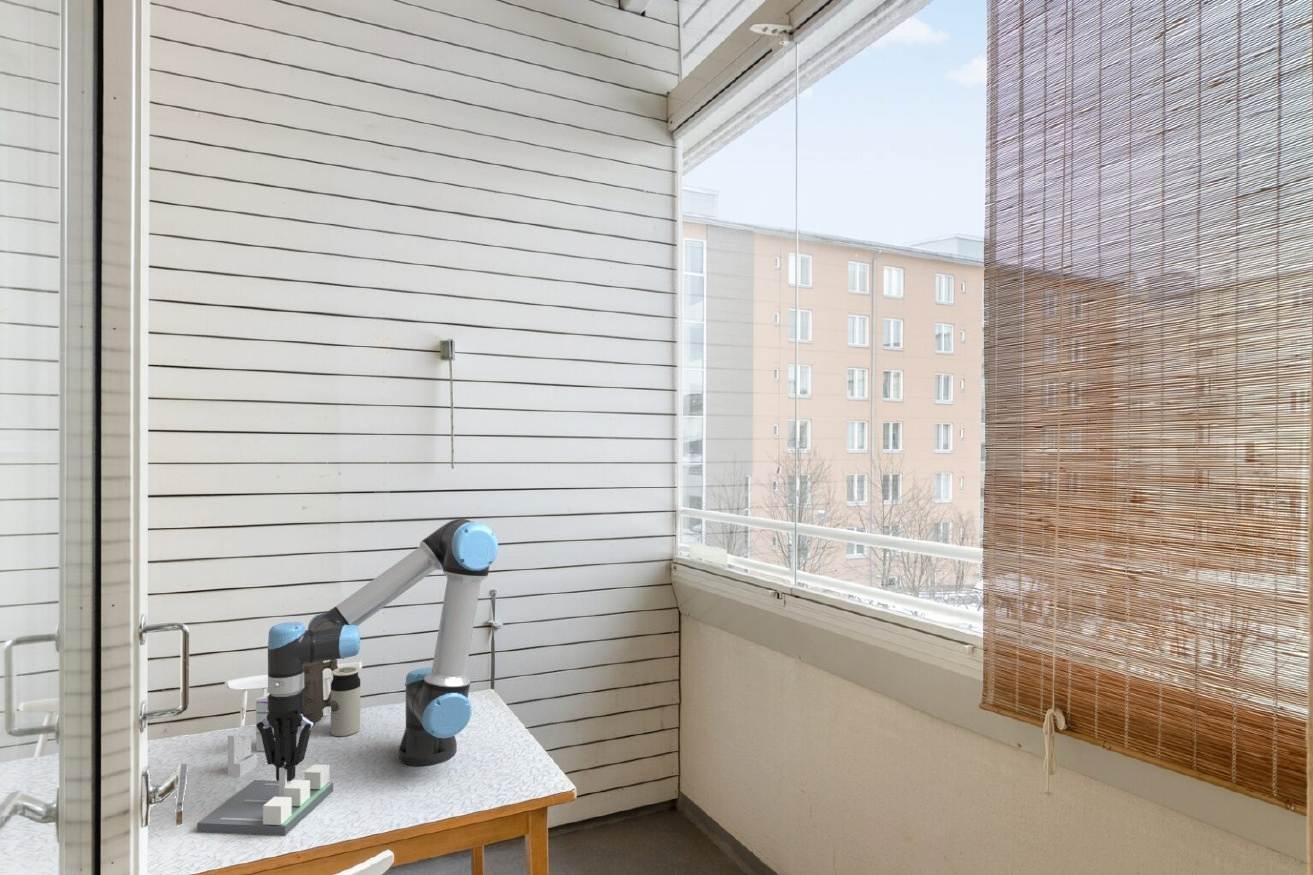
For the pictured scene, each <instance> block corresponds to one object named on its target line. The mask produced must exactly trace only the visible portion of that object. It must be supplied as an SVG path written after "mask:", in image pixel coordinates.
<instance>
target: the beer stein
mask: <svg viewBox="0 0 1313 875" xmlns="http://www.w3.org/2000/svg"><path fill="white" fill-rule="evenodd" d="M338 668H339V666H338V659H334V660H328V661H326V662H325V661H319V662H312V663H305V664H304V688H303V690H304V707H303V711H304V713H305V718H306V719H308V720H309V721H312V720H313V721H315V724H316V723H317V722H320V721H322V719H323V718H324V716H325V714H324V709H325V708H328V707H330V708H331V690H330V692H329V694H328V698H327V699H324V673H323V672H324V670H326V669H329V670H331V672H332V671H333V670H335V669H338ZM322 717H323V718H322ZM321 718H322V719H321ZM301 726H302V724H300V726H299V727H301Z"/></svg>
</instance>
